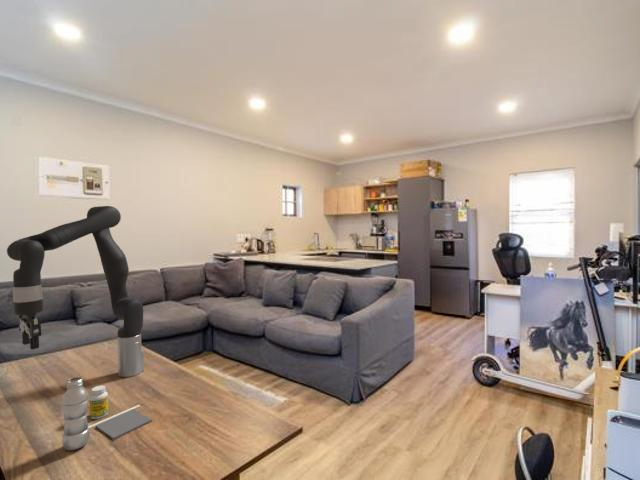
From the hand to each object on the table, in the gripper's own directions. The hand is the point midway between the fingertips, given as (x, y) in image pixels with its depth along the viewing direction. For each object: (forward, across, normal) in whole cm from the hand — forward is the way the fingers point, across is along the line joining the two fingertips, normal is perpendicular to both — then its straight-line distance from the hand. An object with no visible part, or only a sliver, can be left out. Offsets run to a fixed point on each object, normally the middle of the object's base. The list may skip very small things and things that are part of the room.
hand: (30, 346), depth 115 cm
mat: (+25, -30, -16) cm, 42 cm away
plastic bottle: (+25, -31, -2) cm, 40 cm away
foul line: (+25, -23, -14) cm, 37 cm away
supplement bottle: (+25, -17, -13) cm, 33 cm away
